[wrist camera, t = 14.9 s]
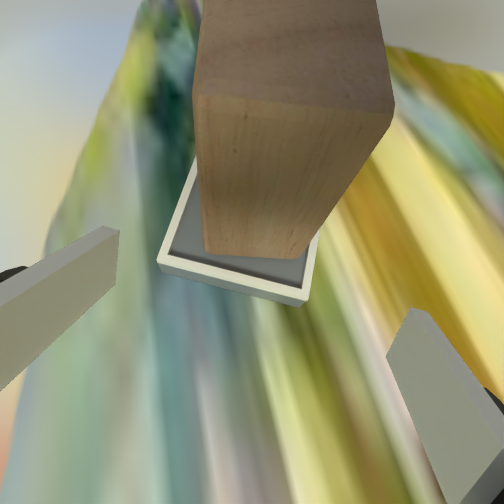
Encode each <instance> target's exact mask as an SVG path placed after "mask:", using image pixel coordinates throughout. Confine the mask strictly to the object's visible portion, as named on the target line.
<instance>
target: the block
mask: <svg viewBox="0 0 504 504" xmlns="http://www.w3.org/2000/svg"><path fill="white" fill-rule="evenodd" d="M192 101H193V115H194V130H195V144H196V158H197V172H198V187H199V201H200V215H201V229H202V243H203V247H204V250H205V251H206V252H207V253H210V254H214V255H230V256H245V257H261V258H276V259H291V260H293V259H296V258H299V257H300V256H301V255H302V253H303V252H304V250H305V249H306V247H307V246H308V245H309V243H310V242H311V240H312V239H313V237H314V236H315V234H316V233H317V231H318V230H319V229H320V227H321V226H322V224H323V223H324V221H325V220H326V218H327V217H328V215H329V214H330V213H331V211H332V210H333V208H334V207H335V205H336V204H337V202H338V201H339V199H340V198H341V196H342V195H343V194H344V192H345V191H346V189H347V188H348V186H349V185H350V183H351V182H352V180H353V179H354V178H355V176H356V175H357V173H358V172H359V170H360V169H361V167H362V166H363V164H364V163H365V162H366V160H367V159H368V157H369V156H370V154H371V153H372V151H373V150H374V148H375V147H376V146H377V144H378V143H379V141H380V140H381V138H382V137H383V135H384V134H385V132H386V131H387V129H388V128H389V127H390V124H391V121H392V118H393V115H394V108H395V101H394V96H393V90H392V85H391V80H390V74H389V69H388V64H387V58H386V53H385V47H384V42H383V37H382V31H381V26H380V21H379V15H378V10H377V4H376V0H204V4H203V12H202V20H201V27H200V35H199V43H198V51H197V59H196V66H195V74H194V82H193V90H192Z"/></svg>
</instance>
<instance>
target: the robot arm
mask: <svg viewBox="0 0 504 504" xmlns="http://www.w3.org/2000/svg"><path fill="white" fill-rule="evenodd" d="M119 234H120V230H116V229H113V228H109V227H105V226H102V227H100V228H98V229H97V230H95V231H93V232H91V233H89V234H88V235H86V236H84V237H82V238H80V239H79V240H77V241H75V242H73V243H71V244H70V245H68V246H66V247H64V248H62V249H61V250H59V251H57V252H55V253H53V254H52V255H50V256H48V257H46V258H44V259H43V260H41V261H39V262H37V263H35V264H34V265H32V266H30V267H25V266H21V267H17V268H13V269H10V270H6V271H4V272H2V273H0V391H1V390H2V389H3V388H5V387H6V386H7V385H8V384H9V383H10V382H11V381H12V380H13V379H14V378H15V377H16V376H17V375H18V374H20V373H21V372H22V371H23V370H24V369H25V368H26V367H27V366H28V365H29V364H30V363H31V362H32V361H33V360H35V359H36V358H37V357H38V356H39V355H40V354H41V353H42V352H43V351H44V350H45V349H46V348H47V347H49V346H50V345H51V344H52V343H53V342H54V341H55V340H56V339H57V338H58V337H59V336H60V335H61V334H62V333H64V332H65V331H66V330H67V329H68V328H69V327H70V326H71V325H72V324H73V323H74V322H75V321H76V320H77V319H79V318H80V317H81V316H82V315H83V314H84V313H85V312H86V311H87V310H88V309H89V308H90V307H91V306H92V305H94V304H95V303H96V302H97V301H98V300H99V299H100V298H101V297H102V296H103V295H104V294H105V293H106V292H107V291H109V290H110V289H111V288H112V287H113V286H114V285H115V280H116V268H117V257H118V245H119ZM386 358H387V360H388V363H389V365H390V368H391V370H392V372H393V375H394V377H395V380H396V382H397V384H398V387H399V389H400V392H401V394H402V396H403V399H404V401H405V404H406V406H407V408H408V411H409V413H410V416H411V418H412V420H413V423H414V425H415V427H416V430H417V432H418V435H419V437H420V439H421V442H422V444H423V447H424V449H425V451H426V454H427V456H428V459H429V461H430V463H431V466H432V468H433V471H434V473H435V475H436V478H437V480H438V483H439V485H440V487H441V490H442V492H443V495H444V497H445V499H446V502H447V504H504V405H503V403H502V402H501V401H500V400H499V399H498V398H497V397H496V396H495V395H493V394H492V393H491V392H490V391H489V390H488V389H487V388H484V387H483V386H482V385H481V384H480V382H479V381H478V380H477V378H476V377H475V376H474V374H473V373H472V372H471V370H470V369H469V367H468V366H467V365H466V363H465V362H464V361H463V359H462V358H461V357H460V355H459V354H458V353H457V351H456V350H455V348H454V347H453V346H452V344H451V343H450V342H449V340H448V339H447V338H446V336H445V335H444V334H443V332H442V331H441V329H440V328H439V327H438V325H437V324H436V323H435V321H434V320H433V319H432V317H431V316H430V315H429V313H428V312H426V311H422V310H419V309H415V308H411V307H410V309H409V311H408V313H407V315H406V317H405V319H404V321H403V323H402V325H401V327H400V329H399V331H398V333H397V335H396V337H395V339H394V341H393V343H392V345H391V347H390V349H389V351H388V353H387V355H386Z"/></svg>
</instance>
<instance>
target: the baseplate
mask: <svg viewBox="0 0 504 504" xmlns="http://www.w3.org/2000/svg"><path fill="white" fill-rule="evenodd" d="M319 233H320V229H319V230H318V231H317V233H316V234H315V236H314V237H313V239H312V240H311V242H310V243H309V245H308V246H307V247H306V249H305V250H304V252H303V253H302V255H301V256H300V257H299V258H296V259H293V260H291V259H276V258H261V257H245V256H230V255H214V254H210V253H207V252H206V251H205V250H204V247H203V243H202V229H201V215H200V201H199V187H198V172H197V158H196V156H195V159H194V162H193V164H192V167H191V170H190V172H189V175H188V178H187V180H186V183H185V186H184V188H183V191H182V193H181V196H180V199H179V201H178V204H177V207H176V209H175V212H174V215H173V217H172V220H171V223H170V225H169V228H168V231H167V233H166V236H165V239H164V241H163V244H162V247H161V249H160V252H159V254H158V257H157V262H158V264H159V267H160V269H161V271H162V273H166V274H170V275H174V276H178V277H181V278H185V279H189V280H193V281H197V282H201V283H205V284H209V285H212V286H216V287H220V288H224V289H228V290H232V291H236V292H240V293H243V294H247V295H251V296H255V297H259V298H263V299H267V300H271V301H274V302H278V303H282V304H286V305H290V306H294V307H298V308H299V307H300V306H301V305H302V304H304V303H305V302H306V301H307V300H308V298H309V292H310V287H311V281H312V275H313V269H314V263H315V257H316V251H317V245H318V239H319Z"/></svg>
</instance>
